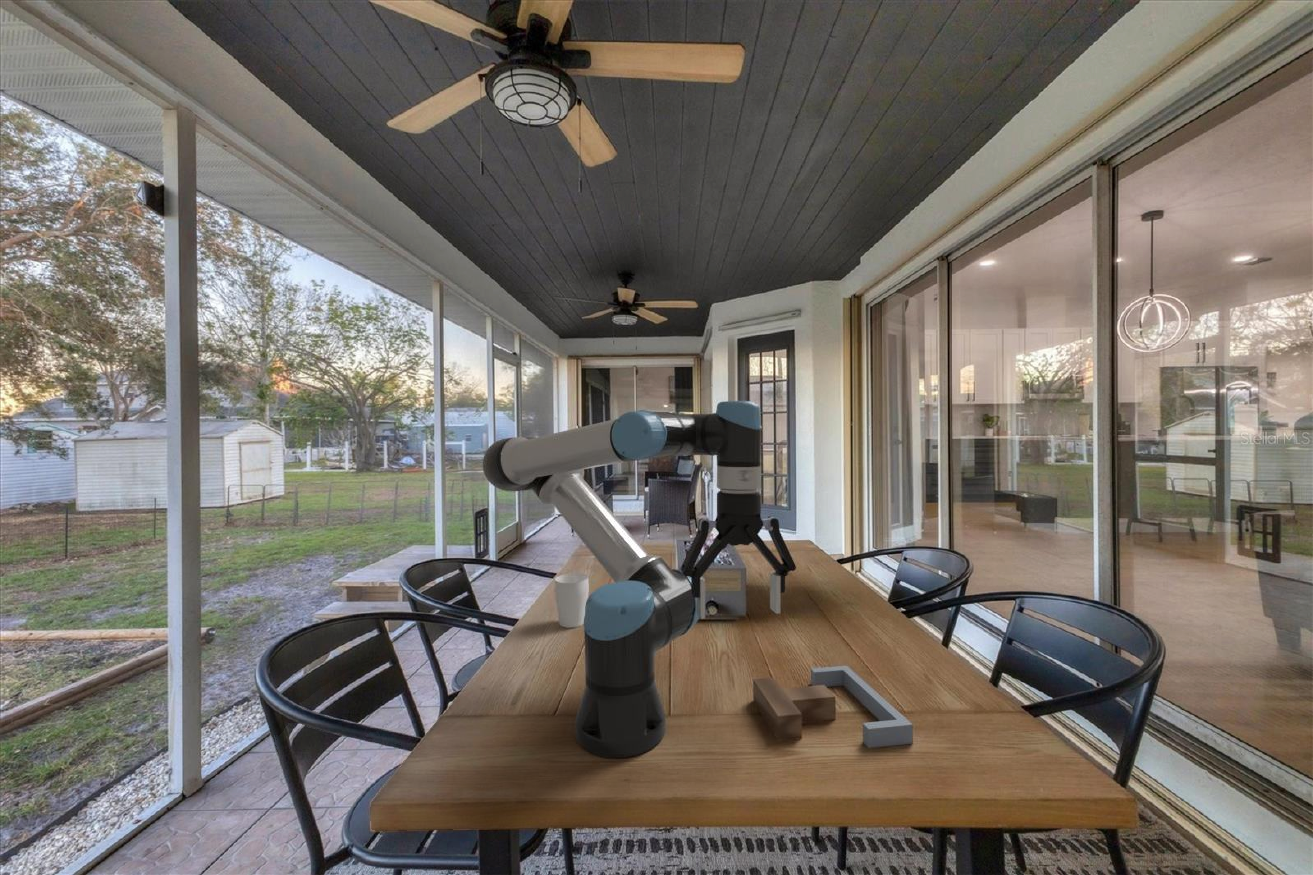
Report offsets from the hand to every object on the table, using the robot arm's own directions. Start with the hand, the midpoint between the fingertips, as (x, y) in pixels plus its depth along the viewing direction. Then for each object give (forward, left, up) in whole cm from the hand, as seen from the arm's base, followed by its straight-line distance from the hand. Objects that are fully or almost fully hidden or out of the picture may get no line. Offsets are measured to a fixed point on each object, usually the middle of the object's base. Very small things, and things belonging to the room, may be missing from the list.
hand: (738, 613), depth 84 cm
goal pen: (+21, 0, -18) cm, 28 cm away
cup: (-30, +49, -19) cm, 61 cm away
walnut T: (+10, 0, -19) cm, 21 cm away
